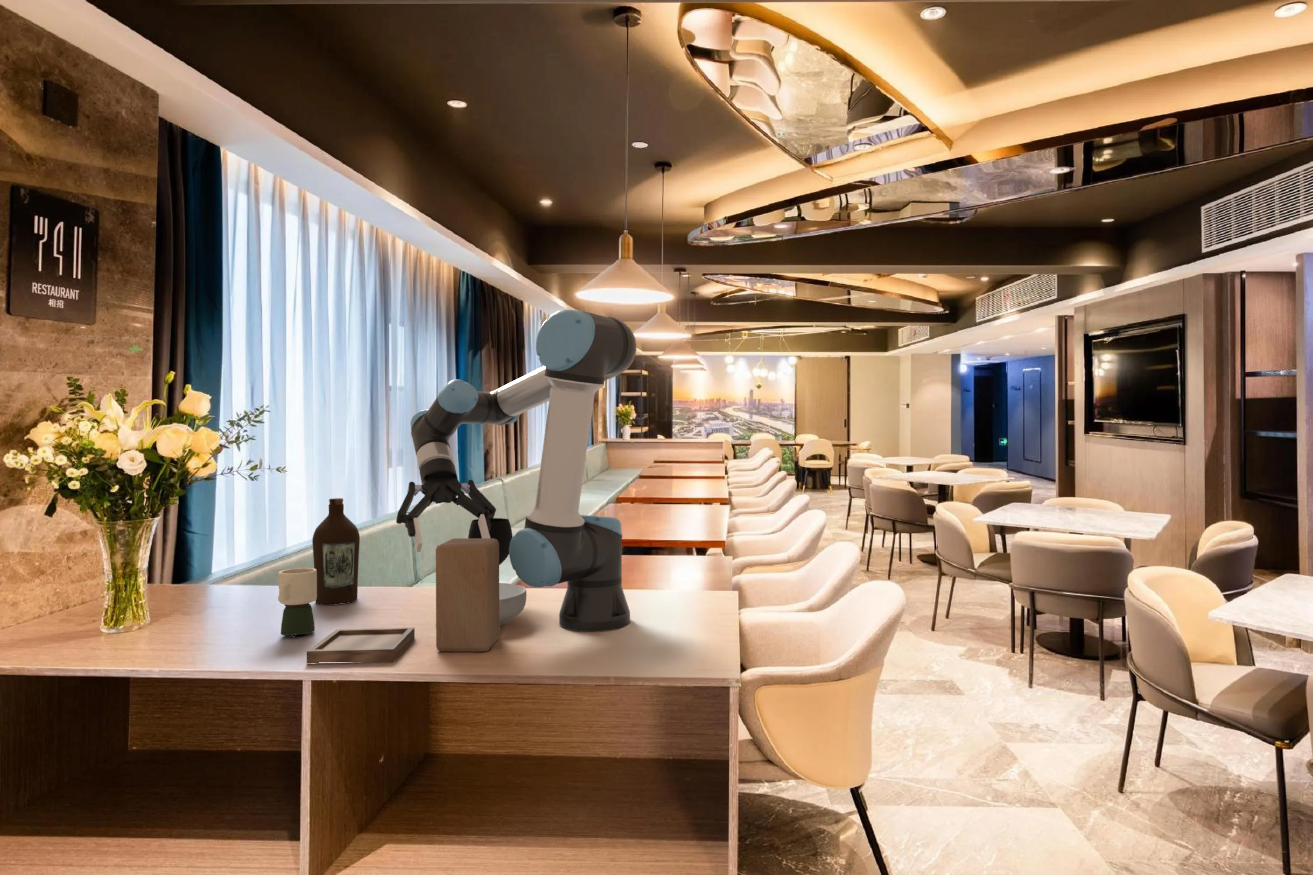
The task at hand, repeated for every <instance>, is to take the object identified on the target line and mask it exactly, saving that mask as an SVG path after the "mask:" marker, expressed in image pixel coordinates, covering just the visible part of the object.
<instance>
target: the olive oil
mask: <svg viewBox="0 0 1313 875" xmlns="http://www.w3.org/2000/svg"><path fill="white" fill-rule="evenodd" d="M328 503H329V504H328V515H327V516H326V517H325V518H324V519H323V520H322V521H321V522H320V524H318V526H317V527H316V528H315V529H314V532H313V535H312V540H311V542H312V553H313V554H312V555H313V568H314V569H316V570H317V599H316V600H315V604H317V603H318V604H317V605H320V604H323V605H322V606H335V605H334V604H339V605H341V604H340V603H346V604H349V603H348V602H350V603H353V602H352V601H354V602H356V601H357V600H358V595H359V594H358V588H359V587H358V586H359V584H358V583H359V563H360V562H359V560H360V559H359V558H360V542H361V540H360V539H361V537H360V532H359V530H358V527H357V526H356V525H355V523H354V522H353V521H351V520H350V519H349V518H348V517H347V516H346V515H345V514H344V513H345V512H344V511H345V510H344V509H345V508H344V506H345V505H344V498H342V497H341V498H340V497H338V498H337V497H336V498H335V497H334V498H329V499H328ZM355 600H356V601H355Z"/></svg>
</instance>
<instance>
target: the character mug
mask: <svg viewBox="0 0 1313 875" xmlns="http://www.w3.org/2000/svg"><path fill="white" fill-rule="evenodd" d="M277 576H278V577H277V578H278V579H277V586H278V597H277V600H278V602H279V603H280V604H282V605H284V609H283V611H282V612H283V613H282V617H281V618H282V619H281V627H280V635H281V636H287V635H290V636H292V637H293V636H295V637H296V636H297V635H307V634H312V633H314V632H315V631H316V627H315V626H316V625H315V619H314V618H315V617H314V612H313V607H312V605H311V603H313V602H316V599H317V570H316V569H314V567H299V568H287V569H283V570H280V571H278V574H277Z"/></svg>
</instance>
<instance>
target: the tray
mask: <svg viewBox="0 0 1313 875" xmlns="http://www.w3.org/2000/svg"><path fill="white" fill-rule="evenodd" d="M415 634H416V633H415V627H379V628H377V627H376V628H372V627H371V628H342V629H341V628H337V629H335V630H333V631H332V632H331V633H329V634H328V635H326V636H325V637H324V638H323V639H321V640H320V641H319V642H317V643H316V644H315V645H313V646H312V647H311V648H309V649H308V650H306V664H307V663H319V662H356V663H355V664H358V663H357V662H378V663H395V661H397V659H399V657H400V656H401V654H402V653H403V652H404V651H405V650H406V649H407V648H408V647H409V646H410V645H411V644H412V642H414V641H415Z"/></svg>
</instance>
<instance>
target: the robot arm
mask: <svg viewBox="0 0 1313 875" xmlns="http://www.w3.org/2000/svg"><path fill="white" fill-rule="evenodd" d="M636 341H637V340H636V337H635V334H634V332H633V331H632V329H631V328H630V327H629V326H628V325H627V324H626V323H625V322H624V321H623V320H621V319H617V318H615V317H611V316H606V315H600V314H596V313H592V312H589V311H588V312H587V311H584V310H579V309H578V310H576V309H562V310H557V311H556V312H554V313H552V314H551V315H550V316H549V317H548V318H546V319H545V320H544V322H543V323H542V325H541V326H540V328H539V330H538V333H537V336H536V340H535V351H536V355H537V356H538V357H539V358H538V360H539V362H540V363H541V365H542V366H541V367H538V368H536V369H535V370H533V371H531V372H528V373H527V374H525V375H523V376H521V377H519V378H517V379H515V380H513V381H511V382H509V383H507V384H505V385H502V386H501V387H499V388H497V389H494V390H492V391H479V390H478V391H477V389H476V388H475V387H474V386H473V384H470V383H469V382H468V381H467V382H466V381H464V380H462V379H452V380H450V381H448V382H447V384H446V385H445V386H444V387H443V388H442V390H440V391H439V393H438V396H436V398H435V400H434V401H433V402H432V404H431V406H430V407H429V408H427V409H421V410H420V411H419V412H416V413H415V414H413V416H412V417H411V420H410V430H411V431H410V433H411V434H410V436H411V439H412V442H413V446H414V447H413V448H414V451H415V452H414V453H415V456H416V459H417V466H418V470H419V476H420V480H421V481H420V482H421V484H416V483H415V482H414V481H409V483H408V488H407V494H406V495H405V497H404V500H403V502H402V504H401V505H400V508H399V509H398V512H397V514H396V515H397V516H396V521H395V522H396V524H404V526H405V528H406V530H407V535H408V536H409V538H410V537H411V538H412V537H413V540H414V545H415V551H416V553H420V552H421V551H422V547H423V539H422V538H423V537H422V533H421V528H420V523H419V517H420V516H421V514H422V513H424V511H425V510H426V509H427V508H428V507H430V505H431V504H433V503H435V504H444V503H445V504H451V503H453V504H455V505H456V506H460V507H462V508H463V509H465V510H466V511H467V512H469V513H470V514H472V515H473V516H474V517H476V518H477V519H479V521H478V524H479V528H480V532H481V536H482V538H490V535H489V532H490V529H491V522H490V519H489V518H495V515H496V511H497V508H496V507H495V505H493V504H492V503H491V502H490V501H489V500H488V498H487V497H486V496H485V495H484V494H483V493H482V492H481V491H480V490H479V489H478V488H477V486H476V485H475V482H474V480H472V479H468V480H467V482H464V483H463V482H462V483H461V482H460V481H459V478H458V475H457V471H456V466H455V463H454V461H455V460H454V457H453V455H452V449H451V446H450V438H451V437H452V436H453V435H454V434H455V432H456V431H457V430H458V428H459V427H460V426H461V425H462V424H463V425H464V424H465V425H466V424H467V425H498V426H504V425H511V424H513V423H515V422H517V420H518V419H519V417H520V416H521V414H523V413H525V412H527V411H530V410H532V409H534V408H537V407H539V406H541V405H543V404H545V403H548V408H547V413H546V414H547V415H546V422H545V429H544V438H543V443H542V444H543V445H542V452H541V459H540V467H539V474H538V480H537V490H536V491H537V492H536V497H535V503H534V504H535V505H534V507H533V508H532V509H530V510H529V511H528V512H527V513H526V514H525V521H524V528H522V529H519V530H518V531H517V532H516V533H515V534H514V535H512V539H511V542H510V547H509V555H508V557H509V561H510V564H511V567H512V570H514V572H515V574H516V576H517V578H519V579H520V581H522V582H523V583H524V584H526V585H527V586H529V587H531V588H532V587H533V588H544V587H553V586H554V587H555V586H556V585H560V584H562V583H566V582H567V587H566V590H565V594H564V597H563V601H562V604H561V607H560V609H559V614H558V616H559V617H558V618H559V621H558V622H559V623H558V624H559V625H560V627H562V628H564V629H567V630H572V631H578V632H579V631H580V632H605V631H611V630H616V629H621V628H623V627H626V626H628V625H629V624H630V623H631V612H630V610H631V609H630V608H629V605H628V604H629V603H628V602H627V598H626V595H625V592H624V589H623V585H622V584H623V580H622V579H623V578H622V573H623V571H622V569H623V567H622V566H623V562H622V560H623V559H622V558H623V556H622V555H623V554H622V552H623V551H622V543H623V542H622V541H623V532H622V523H621V521H620V519H618V518H617V517H613V516H602V515H601V516H599V515H587V514H580V512H579V510H580V504H581V503H580V501H581V494H582V488H583V481H584V480H583V479H584V474H585V466H586V459H587V458H586V457H587V452H588V444H589V438H590V430H591V422H592V415H593V411H594V410H593V407H594V401H595V395H596V393H597V392H598V391H599V390H600V389H602V388H603V387H604V386H605V381H608V380H610V379H613V378H615V377H617V376H619V375H620V374H622V373H624V372H625V371H627V370H628V369H629V368H630V367H631V365H632V363H634V360H635V357H636V355H637V342H636ZM419 492H421V494H422V495H423V497H422V499H420V500H419V501H418V503H416V505H414V507H413V508H412V509H411V510H410V512H409V513H408V511H409V509H410V506H411V505H412V502H413V500H414V497H416V496H417V495H418V494H419ZM467 495H468V496H467Z"/></svg>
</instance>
